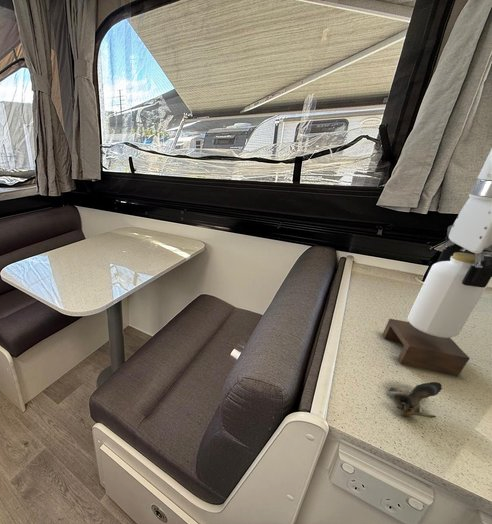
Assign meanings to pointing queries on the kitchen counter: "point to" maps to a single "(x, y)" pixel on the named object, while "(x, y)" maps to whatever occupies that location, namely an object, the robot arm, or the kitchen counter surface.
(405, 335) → the shelf
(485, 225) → the robot arm
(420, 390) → the eagle figurine
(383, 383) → the kitchen counter surface
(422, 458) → the kitchen counter surface
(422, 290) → the potion bottle
